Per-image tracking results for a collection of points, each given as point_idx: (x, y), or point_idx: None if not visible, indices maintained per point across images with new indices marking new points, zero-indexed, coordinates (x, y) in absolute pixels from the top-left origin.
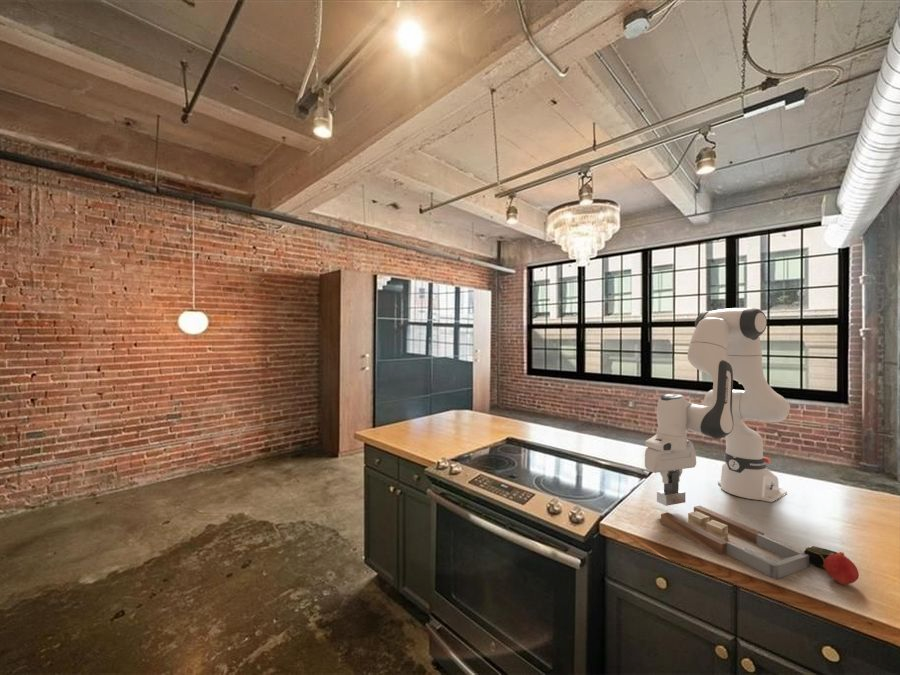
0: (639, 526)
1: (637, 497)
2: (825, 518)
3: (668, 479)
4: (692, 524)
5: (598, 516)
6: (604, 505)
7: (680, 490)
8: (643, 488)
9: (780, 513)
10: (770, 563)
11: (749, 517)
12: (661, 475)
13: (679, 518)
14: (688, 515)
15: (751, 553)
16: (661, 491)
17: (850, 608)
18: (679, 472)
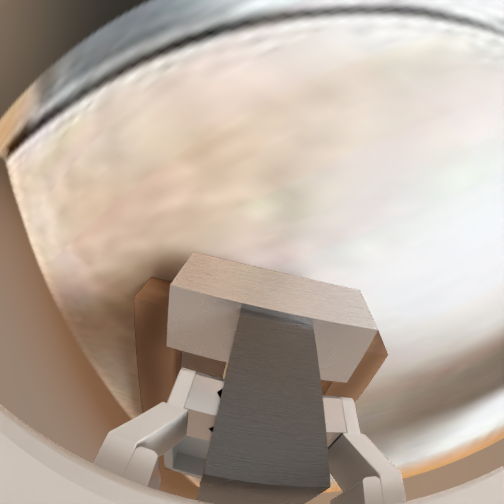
0: (69, 242)
1: (332, 57)
2: (496, 420)
3: (188, 429)
4: (171, 387)
5: (21, 126)
6: (92, 53)
7: (351, 361)
8: (463, 47)
9: (494, 396)
10: (166, 466)
11: (445, 391)
12: (142, 414)
13: (169, 353)
14: (224, 370)
15: (167, 456)
16: (200, 305)
17: (193, 479)
18: (348, 488)
